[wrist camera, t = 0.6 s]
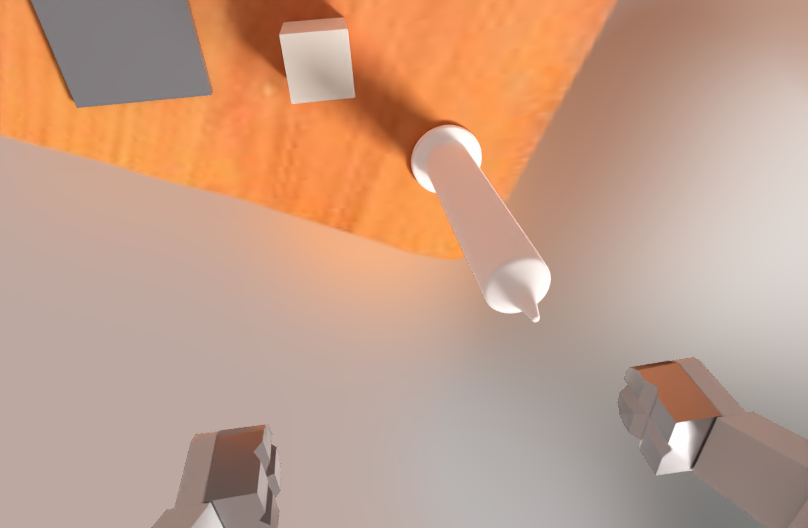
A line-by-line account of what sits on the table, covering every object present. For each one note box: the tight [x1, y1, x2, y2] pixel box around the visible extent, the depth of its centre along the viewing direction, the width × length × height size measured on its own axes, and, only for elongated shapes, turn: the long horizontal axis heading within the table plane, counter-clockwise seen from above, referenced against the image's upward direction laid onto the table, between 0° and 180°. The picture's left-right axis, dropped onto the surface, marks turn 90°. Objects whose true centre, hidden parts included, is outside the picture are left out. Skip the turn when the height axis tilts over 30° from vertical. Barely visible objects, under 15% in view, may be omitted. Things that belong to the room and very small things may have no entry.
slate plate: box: [31, 0, 213, 108], centre depth 39 cm, size 11×11×1 cm
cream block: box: [279, 17, 355, 104], centre depth 40 cm, size 5×5×6 cm
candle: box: [411, 125, 551, 322], centre depth 39 cm, size 7×7×25 cm
